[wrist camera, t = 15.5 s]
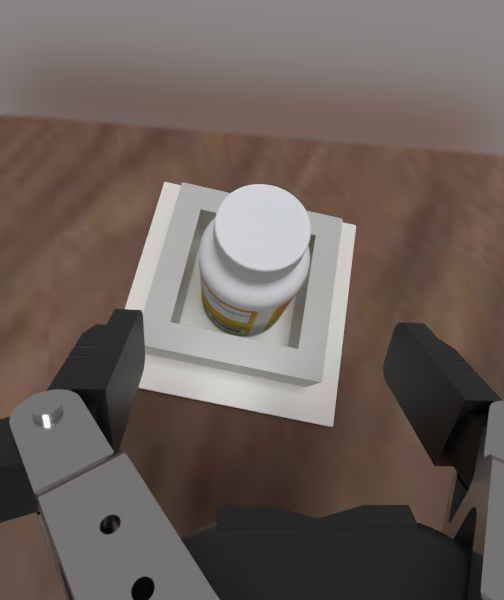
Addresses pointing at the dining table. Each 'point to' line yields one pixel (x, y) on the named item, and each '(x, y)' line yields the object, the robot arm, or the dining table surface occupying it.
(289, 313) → the socket block
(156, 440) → the dining table surface
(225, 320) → the supplement bottle
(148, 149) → the dining table surface
